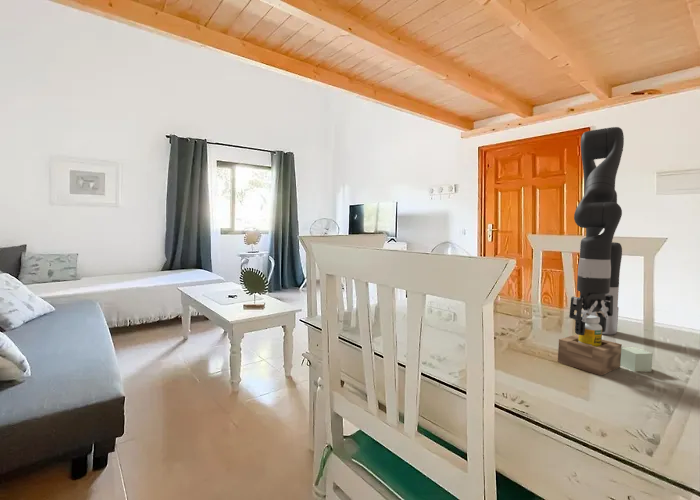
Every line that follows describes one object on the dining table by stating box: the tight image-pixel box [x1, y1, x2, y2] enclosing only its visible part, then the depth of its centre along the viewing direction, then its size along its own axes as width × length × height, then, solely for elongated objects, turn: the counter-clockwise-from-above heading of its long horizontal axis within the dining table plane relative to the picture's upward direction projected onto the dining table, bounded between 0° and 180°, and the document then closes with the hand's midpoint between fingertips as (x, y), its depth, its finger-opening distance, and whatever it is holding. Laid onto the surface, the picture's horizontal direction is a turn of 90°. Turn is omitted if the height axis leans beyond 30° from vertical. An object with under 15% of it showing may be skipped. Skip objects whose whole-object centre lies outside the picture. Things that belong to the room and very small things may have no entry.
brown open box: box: [557, 333, 623, 376], centre depth 101 cm, size 11×11×6 cm
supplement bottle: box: [578, 315, 603, 347], centre depth 100 cm, size 5×5×10 cm
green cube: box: [620, 346, 654, 372], centre depth 99 cm, size 5×5×5 cm
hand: (590, 332), depth 100 cm, fingers open, 8 cm apart
